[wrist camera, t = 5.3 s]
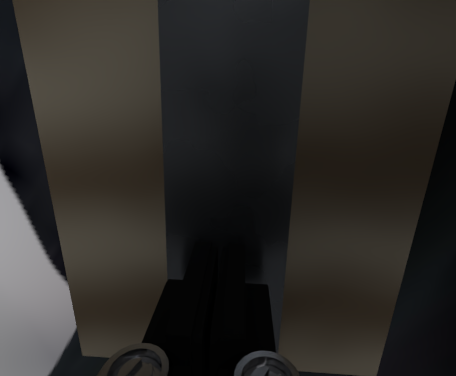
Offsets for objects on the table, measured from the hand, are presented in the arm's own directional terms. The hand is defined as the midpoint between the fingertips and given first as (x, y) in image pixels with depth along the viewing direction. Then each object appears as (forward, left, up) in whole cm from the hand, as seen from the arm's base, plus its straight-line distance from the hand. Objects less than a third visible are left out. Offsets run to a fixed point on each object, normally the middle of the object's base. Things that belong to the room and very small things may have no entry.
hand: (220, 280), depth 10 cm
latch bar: (-4, 0, -1) cm, 4 cm away
